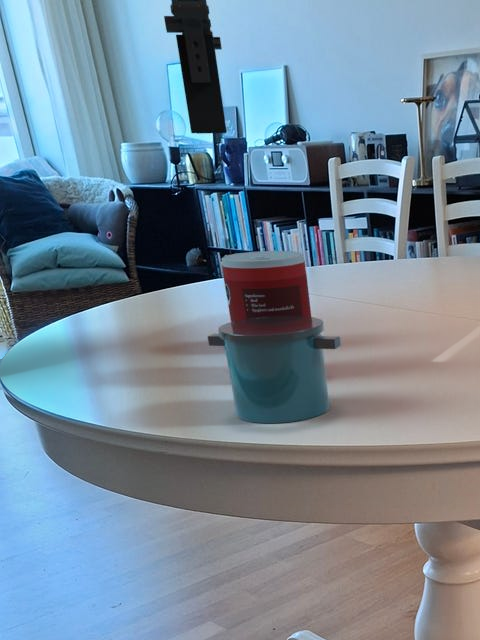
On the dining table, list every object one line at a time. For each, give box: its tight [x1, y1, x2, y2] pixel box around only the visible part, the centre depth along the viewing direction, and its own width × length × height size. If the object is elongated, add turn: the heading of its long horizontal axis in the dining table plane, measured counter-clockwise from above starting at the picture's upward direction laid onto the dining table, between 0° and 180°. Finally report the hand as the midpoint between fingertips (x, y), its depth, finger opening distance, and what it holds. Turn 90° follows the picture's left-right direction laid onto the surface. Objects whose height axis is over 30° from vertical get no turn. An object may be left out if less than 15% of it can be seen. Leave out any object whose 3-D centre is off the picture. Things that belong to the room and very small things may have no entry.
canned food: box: [221, 250, 312, 322], centre depth 85 cm, size 8×8×11 cm
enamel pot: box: [207, 316, 342, 424], centre depth 74 cm, size 9×12×7 cm
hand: (210, 133), depth 76 cm, fingers open, 13 cm apart
